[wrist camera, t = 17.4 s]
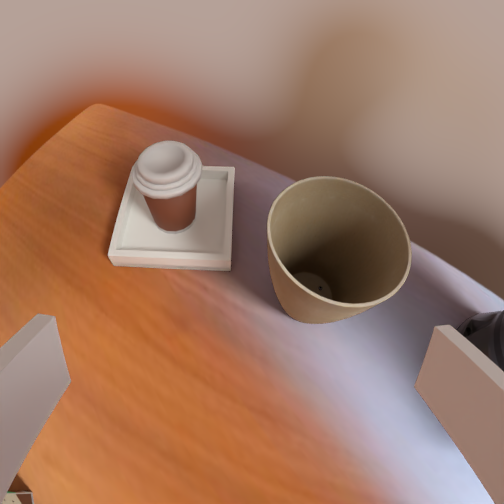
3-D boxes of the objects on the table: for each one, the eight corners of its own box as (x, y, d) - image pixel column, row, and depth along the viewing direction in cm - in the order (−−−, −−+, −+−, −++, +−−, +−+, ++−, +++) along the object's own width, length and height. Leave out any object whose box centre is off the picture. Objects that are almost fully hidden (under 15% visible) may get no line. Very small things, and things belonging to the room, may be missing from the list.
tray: (234, 179, 53) (234, 167, 50) (230, 271, 44) (230, 260, 42) (136, 177, 51) (132, 165, 49) (113, 265, 43) (107, 255, 40)
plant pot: (371, 331, 41) (434, 283, 27) (270, 362, 38) (297, 327, 25) (334, 241, 48) (372, 169, 34) (240, 260, 45) (248, 184, 31)
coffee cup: (137, 207, 47) (119, 151, 37) (188, 184, 50) (183, 126, 40) (159, 252, 44) (142, 197, 33) (216, 225, 47) (215, 166, 36)
